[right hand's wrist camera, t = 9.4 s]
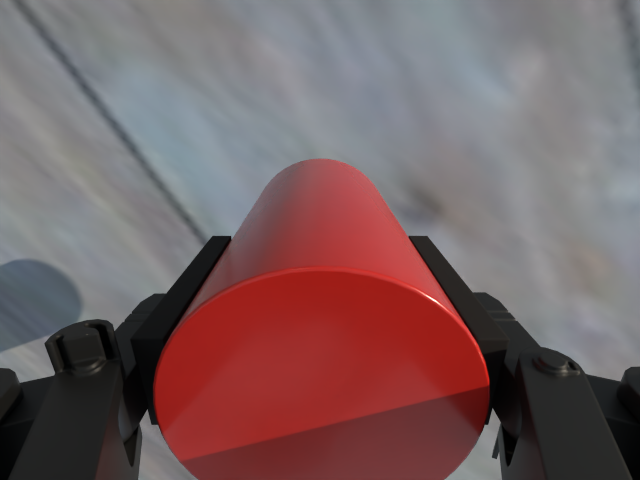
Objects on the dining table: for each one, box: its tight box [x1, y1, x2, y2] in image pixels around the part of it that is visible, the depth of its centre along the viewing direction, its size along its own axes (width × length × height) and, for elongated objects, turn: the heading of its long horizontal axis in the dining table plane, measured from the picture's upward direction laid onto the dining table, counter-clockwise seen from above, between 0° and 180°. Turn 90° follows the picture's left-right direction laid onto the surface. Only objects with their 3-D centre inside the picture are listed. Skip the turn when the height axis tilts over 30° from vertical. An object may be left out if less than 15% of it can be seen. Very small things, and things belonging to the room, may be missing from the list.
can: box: [153, 159, 490, 480], centre depth 13 cm, size 7×7×12 cm
